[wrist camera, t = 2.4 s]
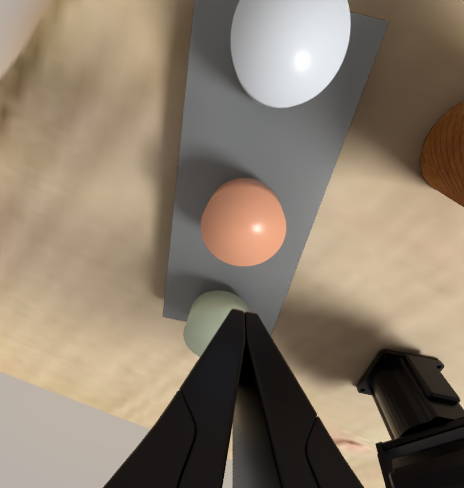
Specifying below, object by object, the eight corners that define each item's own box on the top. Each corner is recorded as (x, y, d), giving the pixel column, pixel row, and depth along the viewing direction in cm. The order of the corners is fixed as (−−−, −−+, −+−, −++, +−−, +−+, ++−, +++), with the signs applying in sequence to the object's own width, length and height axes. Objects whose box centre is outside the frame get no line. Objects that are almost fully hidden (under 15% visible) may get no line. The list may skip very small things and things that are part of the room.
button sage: (242, 341, 22) (242, 366, 20) (187, 330, 22) (180, 354, 20) (256, 297, 20) (257, 320, 18) (194, 284, 20) (187, 306, 18)
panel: (268, 322, 25) (269, 338, 23) (169, 302, 25) (162, 316, 23) (372, 33, 15) (389, 21, 13) (203, -8, 14) (197, -26, 13)
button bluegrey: (312, 117, 14) (324, 117, 12) (225, 97, 14) (221, 93, 12) (349, 1, 12) (371, -26, 10) (245, -24, 12) (244, -57, 10)
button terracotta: (270, 254, 18) (272, 273, 16) (202, 240, 18) (195, 257, 16) (291, 187, 16) (297, 198, 14) (213, 170, 16) (207, 178, 14)
